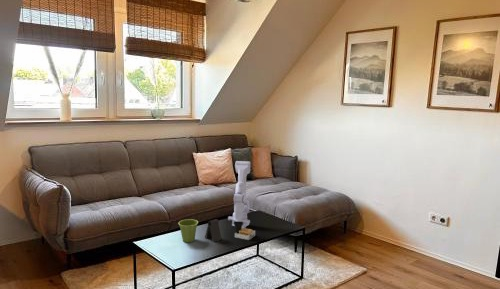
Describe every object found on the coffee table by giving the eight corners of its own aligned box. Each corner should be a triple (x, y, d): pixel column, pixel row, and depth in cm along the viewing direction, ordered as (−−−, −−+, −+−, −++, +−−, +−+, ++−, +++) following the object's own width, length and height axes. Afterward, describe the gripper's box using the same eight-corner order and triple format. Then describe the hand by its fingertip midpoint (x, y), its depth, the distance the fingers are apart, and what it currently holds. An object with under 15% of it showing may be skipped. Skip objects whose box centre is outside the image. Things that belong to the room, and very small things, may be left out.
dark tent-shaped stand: (221, 239, 224) (221, 220, 222) (214, 242, 219) (214, 223, 218) (212, 235, 230) (212, 217, 228) (204, 238, 226) (204, 219, 224)
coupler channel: (234, 237, 228) (234, 232, 228) (241, 232, 236) (241, 228, 236) (249, 240, 224) (249, 235, 223) (255, 235, 232) (255, 230, 231)
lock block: (238, 236, 229) (239, 230, 229) (242, 233, 234) (242, 227, 233) (248, 238, 226) (249, 232, 226) (252, 235, 231) (252, 229, 230)
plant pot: (190, 235, 230) (190, 217, 228) (202, 240, 222) (202, 222, 220) (174, 240, 222) (174, 222, 220) (185, 245, 213) (185, 227, 212)
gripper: (225, 211, 229) (225, 232, 231) (246, 215, 223) (246, 236, 225) (231, 208, 236) (230, 229, 237) (251, 212, 229) (251, 233, 231)
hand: (238, 232), depth 232 cm, fingers closed
